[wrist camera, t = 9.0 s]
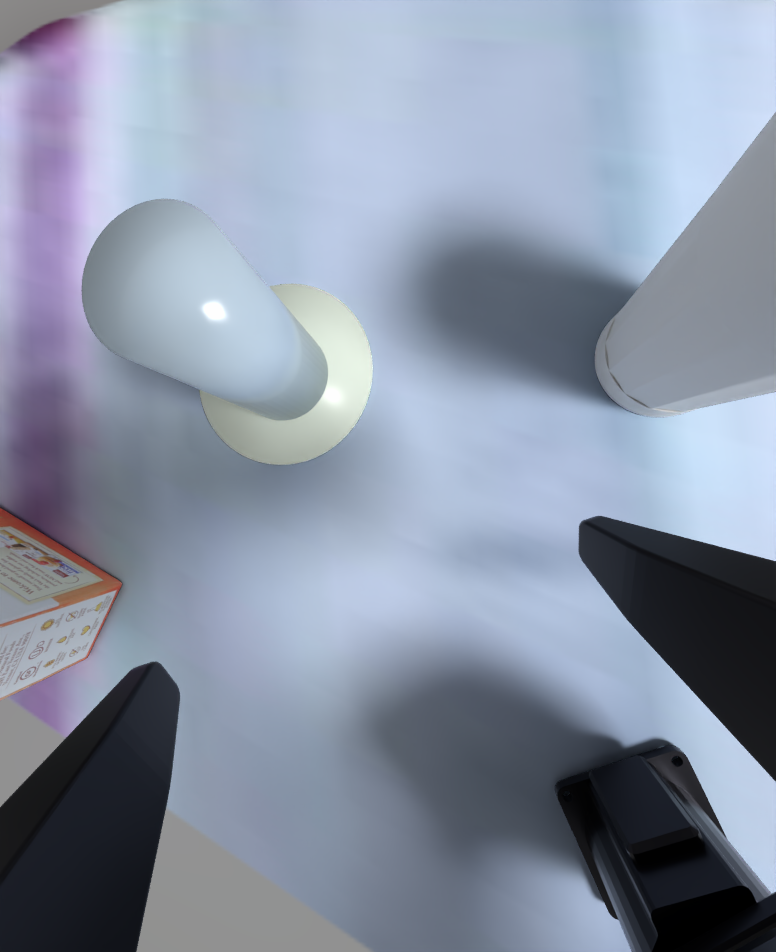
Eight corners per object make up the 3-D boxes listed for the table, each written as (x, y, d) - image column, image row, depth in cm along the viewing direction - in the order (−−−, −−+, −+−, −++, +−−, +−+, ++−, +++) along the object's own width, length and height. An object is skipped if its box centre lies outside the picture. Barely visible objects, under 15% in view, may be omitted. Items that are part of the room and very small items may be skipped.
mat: (403, 416, 21) (402, 416, 21) (238, 494, 22) (237, 494, 22) (328, 253, 22) (327, 251, 22) (176, 336, 23) (174, 335, 23)
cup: (748, 432, 18) (1308, 324, 6) (579, 434, 20) (791, 345, 8) (743, 276, 19) (1269, -96, 7) (577, 288, 20) (778, -14, 8)
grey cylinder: (342, 395, 21) (256, 313, 11) (261, 435, 22) (113, 391, 12) (306, 314, 22) (195, 168, 12) (228, 355, 23) (61, 249, 13)
